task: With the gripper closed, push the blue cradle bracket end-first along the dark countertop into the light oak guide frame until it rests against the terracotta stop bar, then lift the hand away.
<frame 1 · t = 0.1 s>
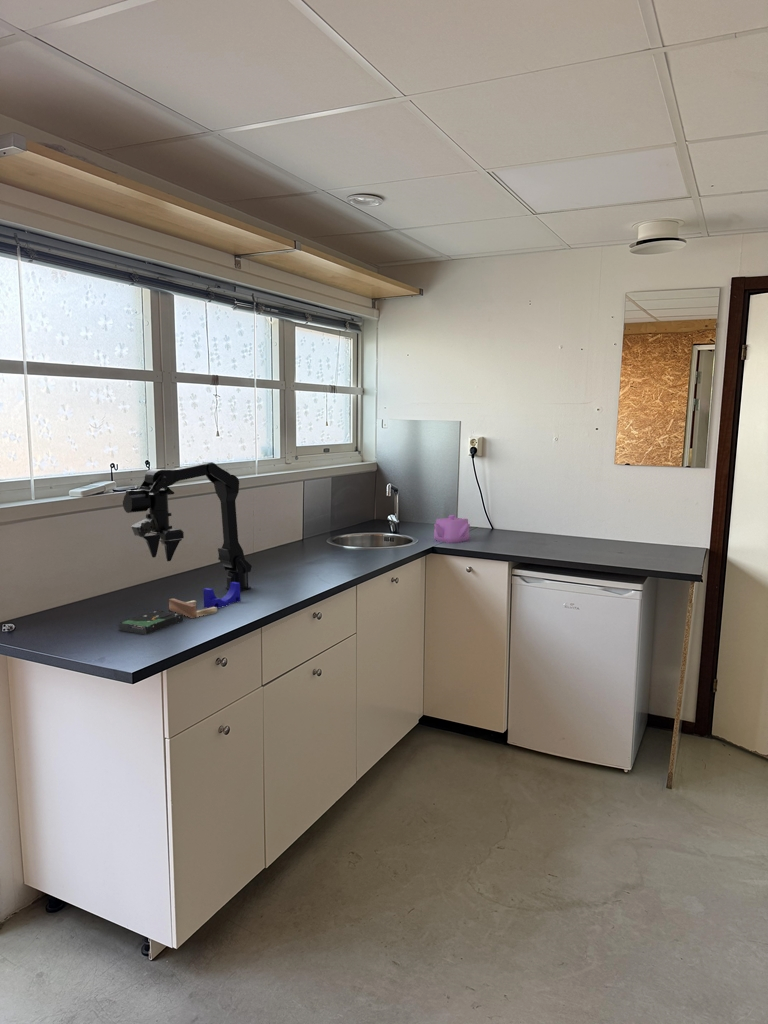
hand: (161, 559, 218), 15 cm above the worktop, tool pointing down, fingers open, 9 cm apart
blue cradle bracket: (224, 605, 220), on the worktop
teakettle: (451, 541, 335), on the worktop
guide frame: (195, 610, 213), on the worktop
disk drive: (151, 627, 198), on the worktop
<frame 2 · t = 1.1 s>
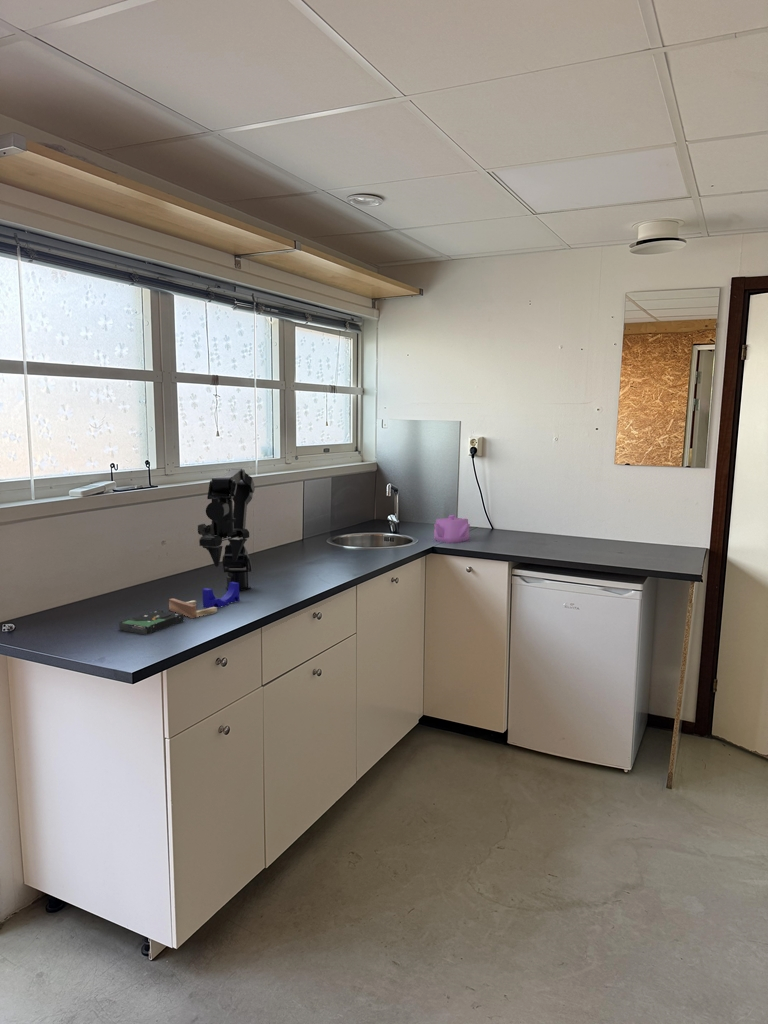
hand: (226, 563, 224), 12 cm above the worktop, tool pointing down, fingers open, 9 cm apart
nothing on the worktop moved.
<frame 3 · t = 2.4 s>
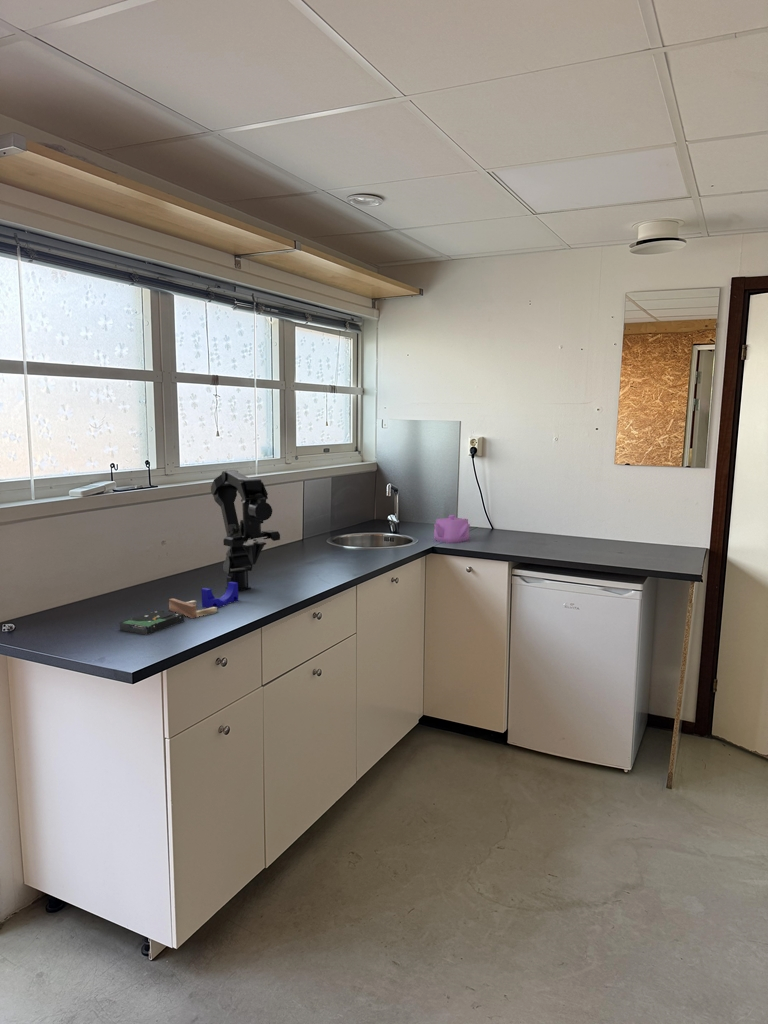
hand: (253, 564, 227), 11 cm above the worktop, tool pointing down, fingers closed
nothing on the worktop moved.
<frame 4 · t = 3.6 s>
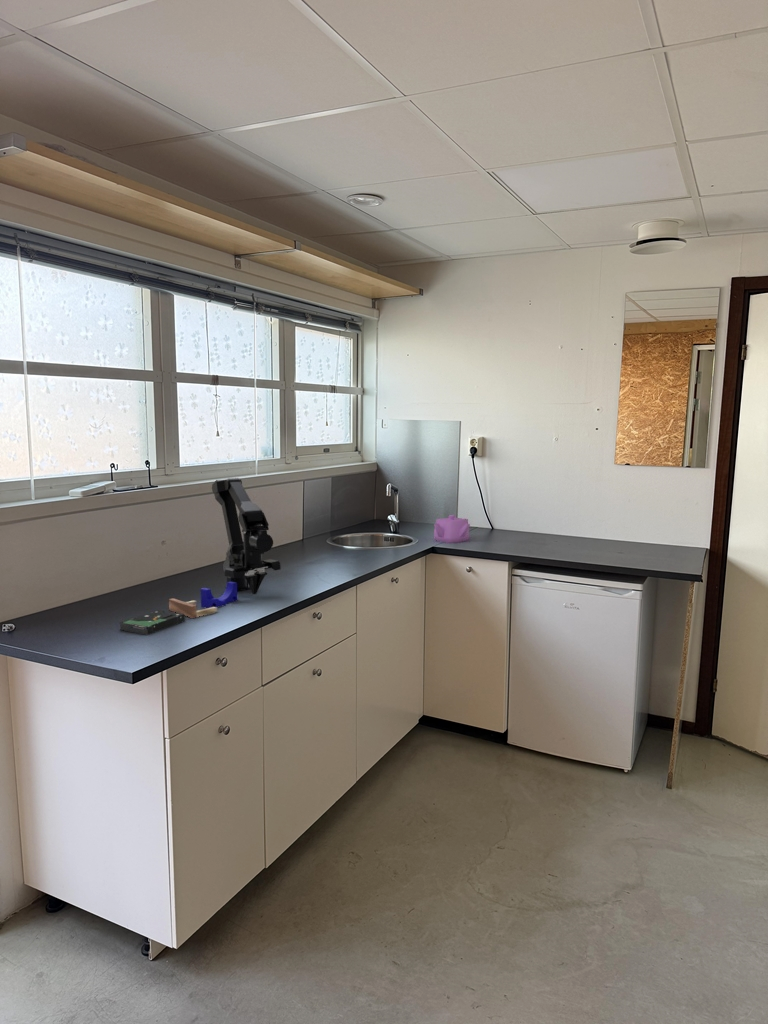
hand: (254, 594, 228), 1 cm above the worktop, tool pointing down, fingers closed
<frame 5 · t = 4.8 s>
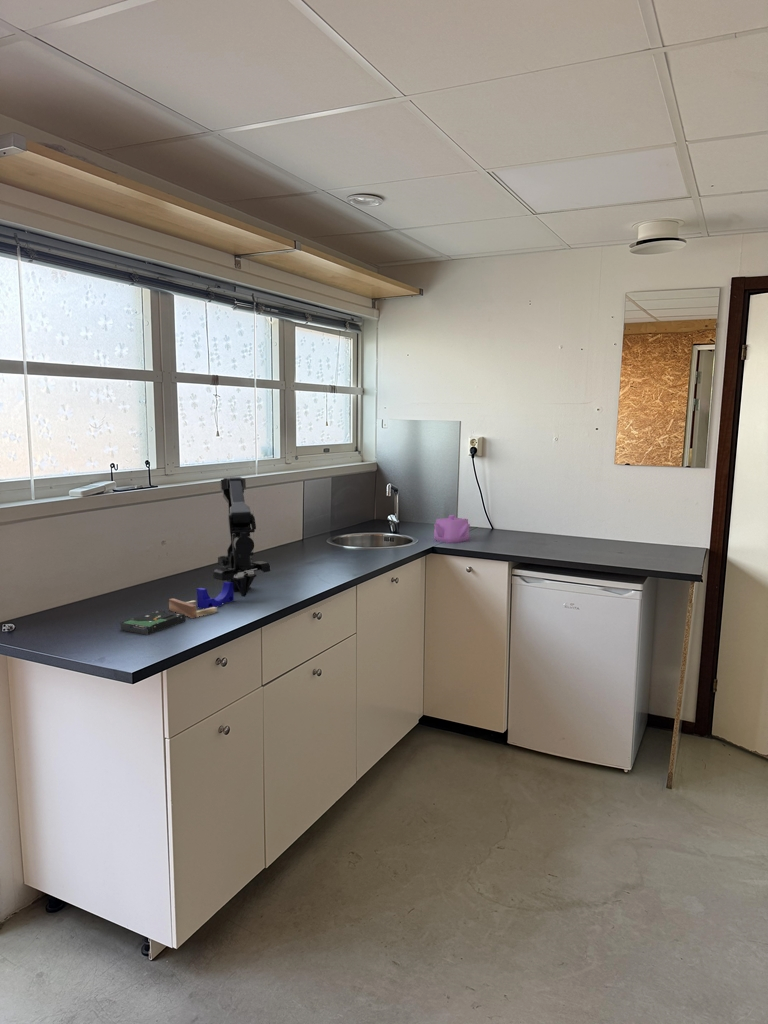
hand: (243, 596, 225), 1 cm above the worktop, tool pointing down, fingers closed
blue cradle bracket: (217, 605, 220), on the worktop, touching gripper
everything else where it was.
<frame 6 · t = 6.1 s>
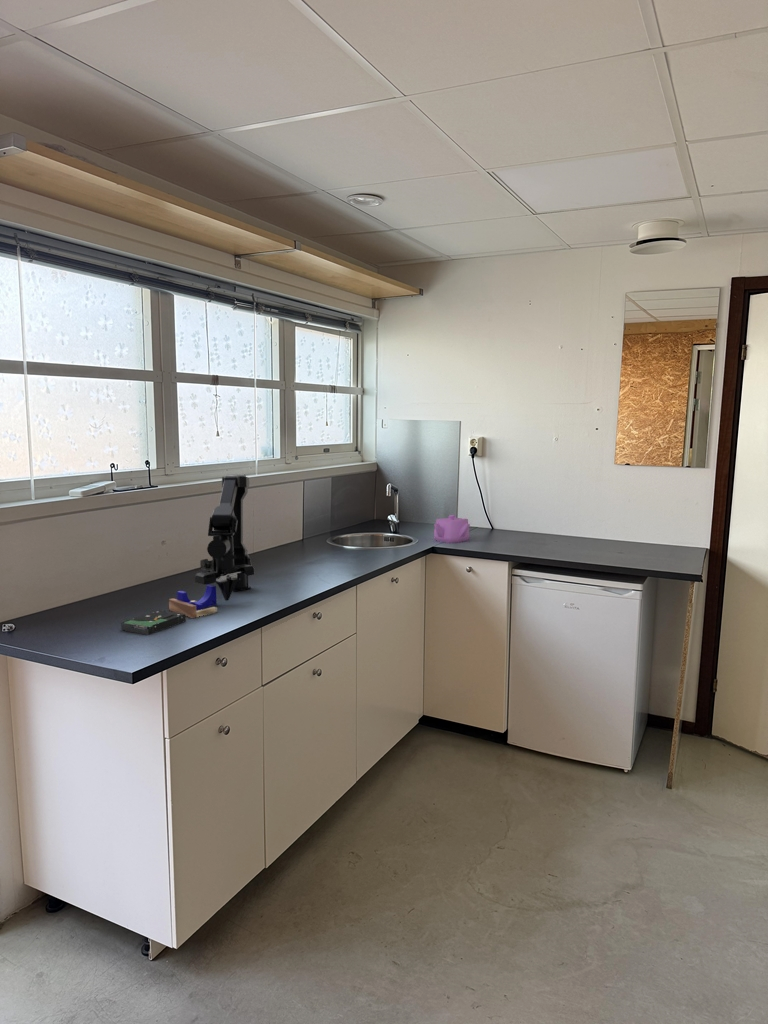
hand: (226, 600, 221), 1 cm above the worktop, tool pointing down, fingers closed
blue cradle bracket: (198, 608, 216), on the worktop, touching gripper, guide frame
everything else where it was.
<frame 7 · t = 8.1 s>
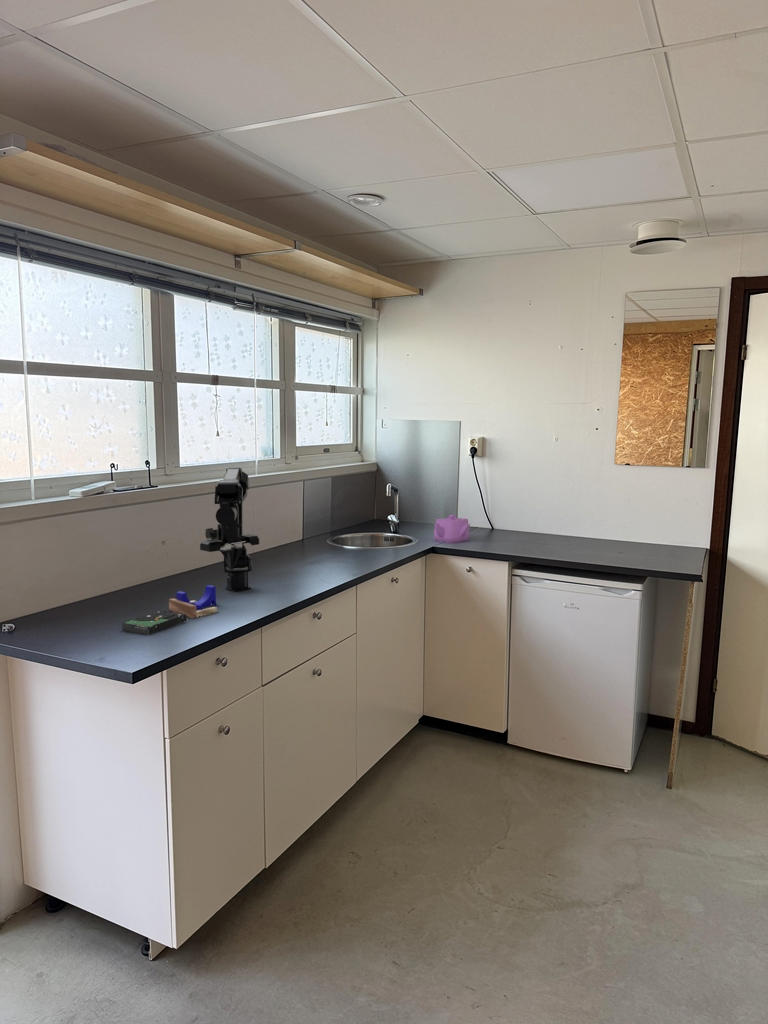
hand: (231, 569, 221), 11 cm above the worktop, tool pointing down, fingers closed
blue cradle bracket: (198, 609, 216), on the worktop
everything else where it was.
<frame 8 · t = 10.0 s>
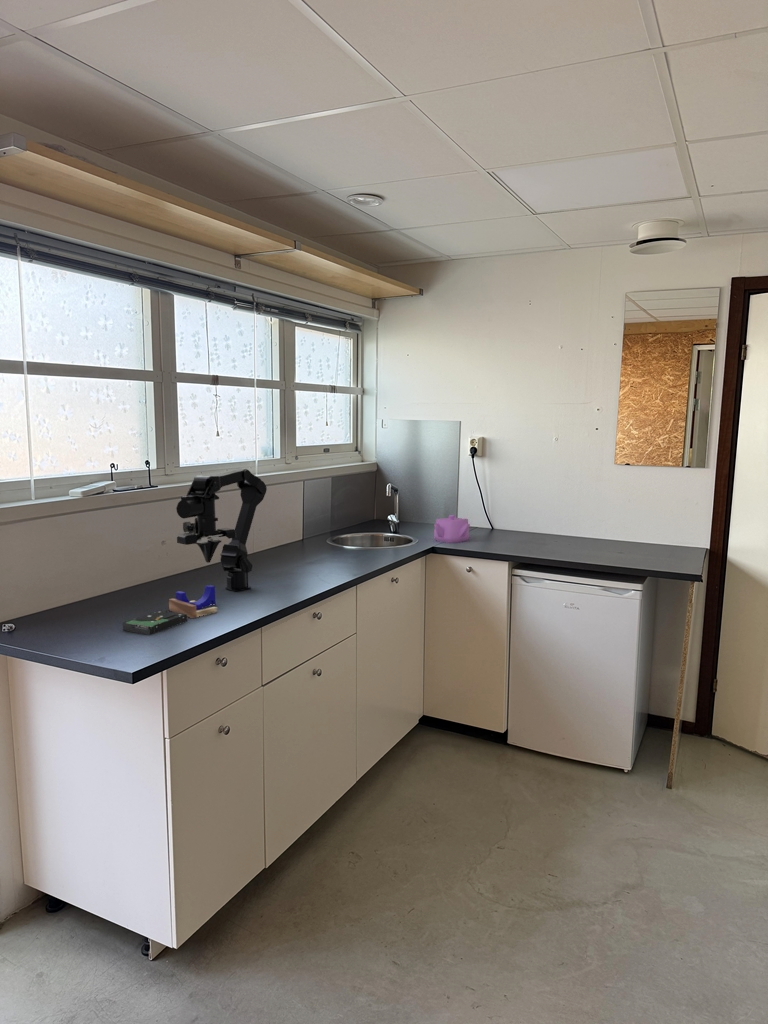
hand: (208, 562, 226), 12 cm above the worktop, tool pointing down, fingers closed
at the end: blue cradle bracket 2.8 cm from the target spot on the guide frame, point 0.0 cm above the guide frame's base; blue cradle bracket tilted 0°; blue cradle bracket moved 8.4 cm from its start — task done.
